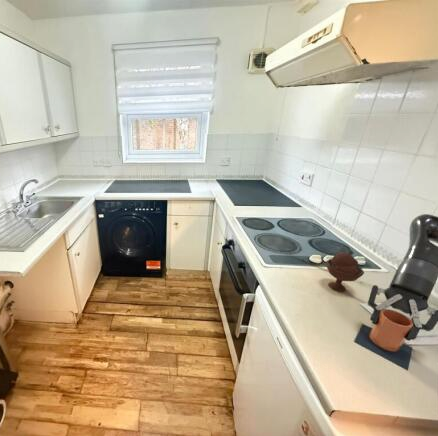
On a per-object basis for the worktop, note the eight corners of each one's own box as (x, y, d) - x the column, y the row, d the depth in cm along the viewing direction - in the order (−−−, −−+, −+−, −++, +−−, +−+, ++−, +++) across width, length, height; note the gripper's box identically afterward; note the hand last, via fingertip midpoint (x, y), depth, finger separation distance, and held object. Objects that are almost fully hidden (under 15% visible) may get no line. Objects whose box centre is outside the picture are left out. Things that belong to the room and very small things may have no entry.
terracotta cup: (400, 343, 67) (414, 319, 63) (397, 355, 63) (411, 331, 60) (371, 329, 71) (383, 306, 68) (367, 340, 68) (379, 316, 64)
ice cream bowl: (354, 301, 84) (369, 265, 78) (316, 287, 91) (328, 253, 85) (356, 287, 91) (370, 253, 85) (321, 275, 98) (332, 243, 92)
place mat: (412, 348, 67) (412, 347, 67) (407, 370, 61) (408, 369, 61) (362, 324, 74) (362, 323, 74) (354, 341, 69) (354, 341, 69)
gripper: (382, 262, 69) (357, 313, 67) (459, 287, 59) (433, 348, 57) (378, 270, 74) (356, 317, 72) (449, 295, 64) (425, 351, 62)
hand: (390, 331), depth 64 cm, fingers closed on terracotta cup, 6 cm apart
